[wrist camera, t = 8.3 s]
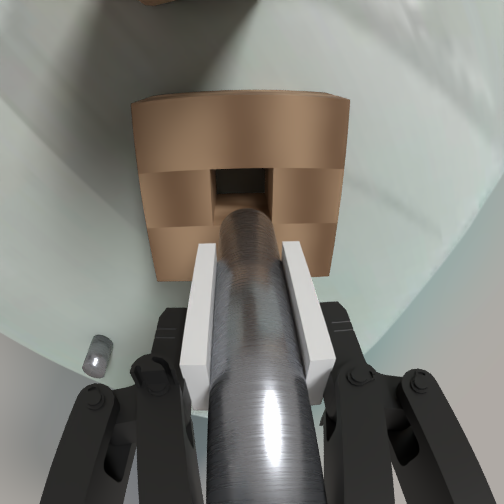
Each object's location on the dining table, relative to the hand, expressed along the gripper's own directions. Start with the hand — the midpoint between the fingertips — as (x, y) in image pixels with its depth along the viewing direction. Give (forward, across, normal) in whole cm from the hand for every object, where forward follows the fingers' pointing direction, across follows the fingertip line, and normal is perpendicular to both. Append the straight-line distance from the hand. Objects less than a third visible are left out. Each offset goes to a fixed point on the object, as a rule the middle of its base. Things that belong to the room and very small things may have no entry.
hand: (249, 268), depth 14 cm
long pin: (+3, 0, 0) cm, 3 cm away
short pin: (+14, -19, -22) cm, 32 cm away
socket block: (+14, 0, 0) cm, 14 cm away
